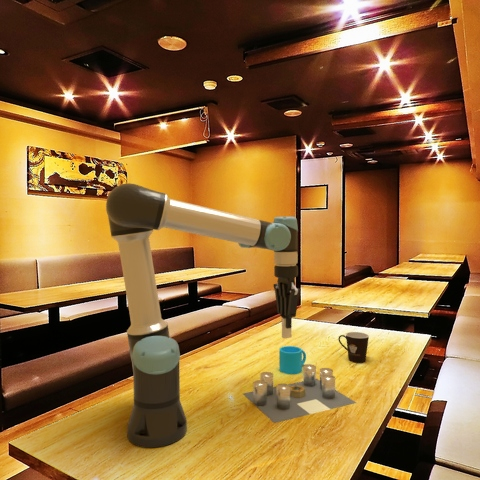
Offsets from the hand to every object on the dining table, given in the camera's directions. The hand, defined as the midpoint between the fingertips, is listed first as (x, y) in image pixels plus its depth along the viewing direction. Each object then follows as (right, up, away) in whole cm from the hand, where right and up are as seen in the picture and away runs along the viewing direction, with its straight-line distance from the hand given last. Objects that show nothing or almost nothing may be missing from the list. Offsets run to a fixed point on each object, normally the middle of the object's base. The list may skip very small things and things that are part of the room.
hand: (286, 337), depth 127 cm
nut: (+3, -17, -5) cm, 18 cm away
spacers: (+2, -17, -6) cm, 18 cm away
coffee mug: (+30, -16, +28) cm, 44 cm away
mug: (+5, -17, +17) cm, 24 cm away
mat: (+3, -17, -7) cm, 19 cm away
